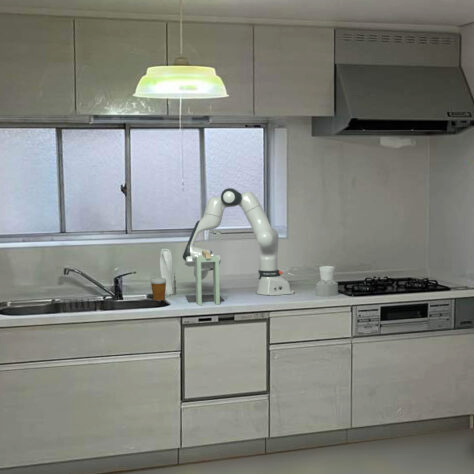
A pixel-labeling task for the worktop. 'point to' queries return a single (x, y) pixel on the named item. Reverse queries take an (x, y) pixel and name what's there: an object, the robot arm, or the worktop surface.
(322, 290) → the lumpy-topped squat cylinder
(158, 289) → the disposable coffee cup
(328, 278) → the foam cup
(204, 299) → the mat
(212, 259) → the bridge
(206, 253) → the bar
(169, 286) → the skyscraper
